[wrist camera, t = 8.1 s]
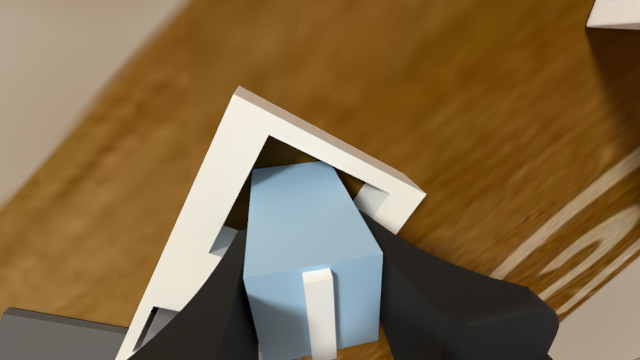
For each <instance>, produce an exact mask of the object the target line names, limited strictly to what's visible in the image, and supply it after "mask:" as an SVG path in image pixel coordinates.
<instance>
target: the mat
mask: <svg viewBox="0 0 640 360" xmlns="http://www.w3.org/2000/svg"><path fill="white" fill-rule="evenodd" d="M128 330H129V328H124V327H118V326H113V325H107V324H101V323H95V322H90V321H84V320H78V319H72V318H67V317H61V316H55V315H49V314H43V313H38V312H32V311H26V310H20V309H15V308H8V309H7V310H6V311H5V312H4V313H3V315H2V320H1V324H0V360H115V359H116V357H117V354H118V352H119V350H120V348H121V345H122V343H123V341H124V339H125V336H126V334H127V332H128Z"/></svg>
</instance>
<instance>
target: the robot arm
mask: <svg viewBox="0 0 640 360" xmlns="http://www.w3.org/2000/svg"><path fill="white" fill-rule="evenodd" d="M358 211H359V213H360V215H361V216H362V218H363V220H364V221H365V223H366V225H367V227H368V228H369V230H370V232H371V233H372V235H373V237H374V239H375V240H376V242H377V244H378V245H379V247H380V249H381V251H382V252H383V263H382V280H381V297H380V314H379V319H380V322H381V324H382V327H383V330H384V332H385V335H386V338H387V341H388V343H389V346H390V349H391V352H392V355H393V358H394V360H552V358H551V357H550V356H549V355H548V354H547V353H548V351H549V349H550V347H551V345H552V342H553V340H554V338H555V336H556V334H557V331H558V328H559V320H558V316H557V314H556V313H555V311H554V310H553V309H551V308H550V307H549V306H548V305H547V304H546V303H545V302H544V301H543V300H541V299H540V298H539V297H538V296H537V295H536V294H535V293H534V292H533V291H531V290H530V289H529V288H528V287H525V286H521V285H517V284H513V283H509V282H506V281H502V280H498V279H494V278H491V277H488V276H485V275H482V274H479V273H475V272H472V271H470V270H467V269H464V268H461V267H459V266H456V265H454V264H451V263H449V262H446V261H444V260H442V259H439V258H437V257H435V256H433V255H431V254H429V253H427V252H425V251H423V250H421V249H419V248H417V247H415V246H413V245H412V244H410V243H408V242H407V241H405V240H403V239H402V238H400V237H398V236H397V235H395V234H394V233H392V232H391V231H389V230H388V229H386V228H385V227H384V226H382V225H381V224H379V223H378V222H377V221H375V220H374V219H373V218H371V217H370V216H369V215H367V214H366V213H364V212H363V211H362V210H358ZM246 240H247V229H246V230H240V231H238V232H237V233H236V235H235V237H234V239H233V240H232V242H231V244H230V246H229V247H228V249H227V251H226V252H225V254H224V255H223V257H222V258H221V260H220V262H219V263H218V265H217V266H216V268H215V269H214V270H213V272H212V273H211V274H210V276H209V277H208V279H207V280H206V281H205V283H204V284H203V285H202V287H201V288H200V289H199V290H198V292H197V293H196V294H195V295H194V296H193V297H192V299H191V300H190V301H189V302H188V303H187V304H186V305H185V307H184V308H183V309H182V310H181V311H180V312H179V313H178V314H177V315H176V316H175V317H174V318H173V319H172V320H171V321H170V322H169V323H168V324H167V325H166V326H165V327H164V328H163V329H162V330H160V331H159V332H158V333H157V334H156V335H155V336H154V337H153V338H152V339H151V340H149V341H148V342H147V343H146V344H145V345H144V346H142V347H141V348H140V349H139V350H138V351H137V352H135V353H134V354H133V355H132V356H131V357H129V358H128V359H127V360H259V340H258V336H257V332H256V328H255V324H254V320H253V316H252V312H251V308H250V304H249V300H248V296H247V292H246V288H245V284H244V279H243V274H244V263H245V251H246ZM635 360H640V358H637V359H635Z"/></svg>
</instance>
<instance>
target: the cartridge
mask: <svg viewBox="0 0 640 360" xmlns="http://www.w3.org/2000/svg"><path fill="white" fill-rule="evenodd" d="M382 263H383V252H382V251H381V249H380V247H379V245H378V244H377V242H376V240H375V239H374V237H373V235H372V233H371V232H370V230H369V228H368V227H367V225H366V223H365V221H364V220H363V218H362V216H361V215H360V213H359V211H358V209H357V208H356V206H355V204H354V203H353V201H352V199H351V197H350V196H349V194H348V192H347V191H346V189H345V187H344V185H343V184H342V182H341V180H340V178H339V177H338V175H337V173H336V172H335V170H334V168H333V166H332V165H330V164H328V163H326V162H324V161H317V162H309V163H301V164H293V165H284V166H276V167H268V168H260V169H253V171H252V183H251V194H250V206H249V217H248V229H247V240H246V251H245V263H244V274H243V279H244V284H245V288H246V292H247V296H248V300H249V304H250V308H251V312H252V316H253V320H254V324H255V328H256V332H257V336H258V340H259V345H260V349H261V353H262V357H263V360H292V359H297V358H301V357H306V356H310V355H312V360H331V359H335V358H337V352H336V350H337V349H341V348H346V347H350V346H355V345H359V344H364V343H368V342H373V341H377V340H378V331H379V314H380V297H381V280H382Z"/></svg>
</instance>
